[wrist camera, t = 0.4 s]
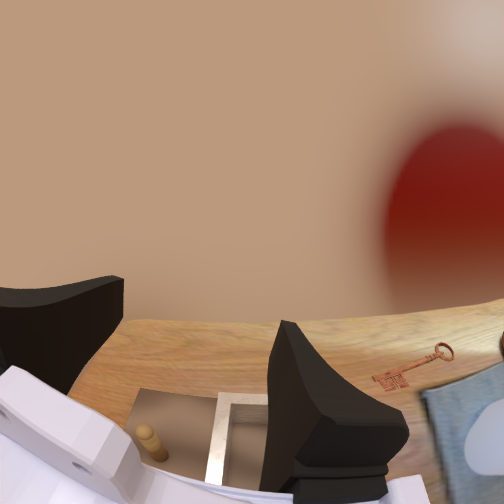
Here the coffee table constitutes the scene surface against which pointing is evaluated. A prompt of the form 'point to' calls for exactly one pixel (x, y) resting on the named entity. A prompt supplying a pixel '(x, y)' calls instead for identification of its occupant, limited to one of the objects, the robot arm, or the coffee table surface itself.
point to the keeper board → (192, 438)
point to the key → (407, 367)
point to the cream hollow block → (228, 413)
